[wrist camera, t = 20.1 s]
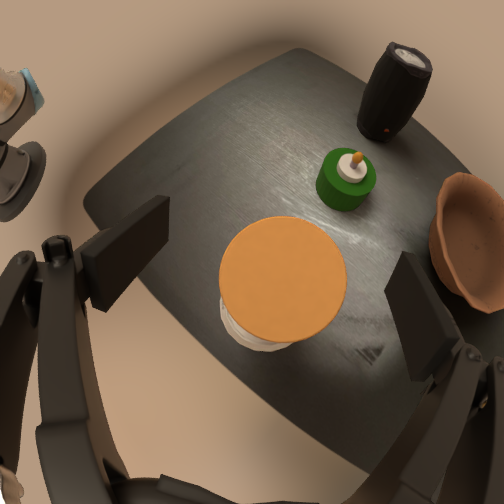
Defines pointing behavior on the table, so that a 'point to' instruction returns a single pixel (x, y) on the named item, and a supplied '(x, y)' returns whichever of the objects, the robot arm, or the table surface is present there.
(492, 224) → the bowl
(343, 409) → the table surface
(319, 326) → the orange tall cylinder
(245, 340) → the supplement can
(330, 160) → the candle
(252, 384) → the table surface
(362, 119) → the portable speaker
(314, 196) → the table surface
